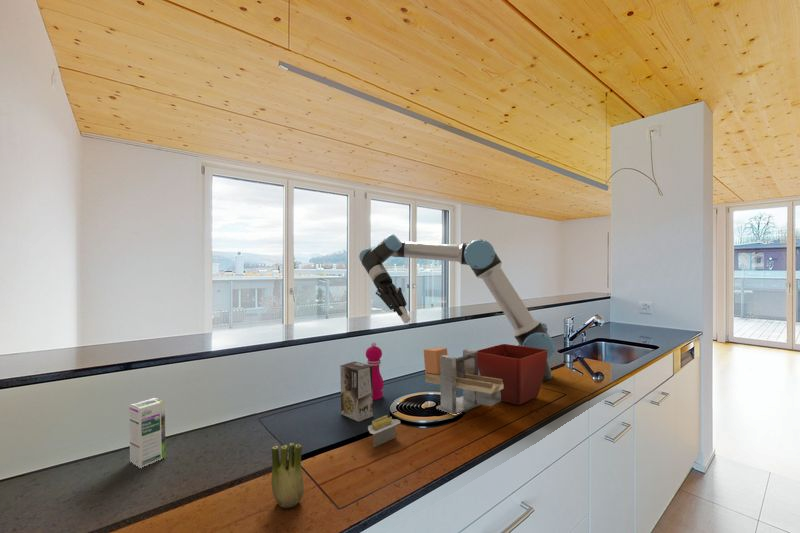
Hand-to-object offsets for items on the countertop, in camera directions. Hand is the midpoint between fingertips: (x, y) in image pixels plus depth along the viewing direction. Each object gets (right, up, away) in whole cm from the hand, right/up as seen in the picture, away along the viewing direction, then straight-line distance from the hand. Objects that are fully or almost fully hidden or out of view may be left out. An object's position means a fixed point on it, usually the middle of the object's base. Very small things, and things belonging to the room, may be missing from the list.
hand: (407, 321), depth 141 cm
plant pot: (+38, -26, -11) cm, 47 cm away
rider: (+11, -18, -11) cm, 24 cm away
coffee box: (-17, -27, -26) cm, 41 cm away
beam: (+18, -23, -20) cm, 35 cm away
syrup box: (-66, -27, -52) cm, 88 cm away
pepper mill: (-12, -27, -10) cm, 31 cm away
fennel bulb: (-26, -27, -68) cm, 78 cm away
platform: (-8, -27, -43) cm, 51 cm away
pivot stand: (+17, -26, -19) cm, 37 cm away
